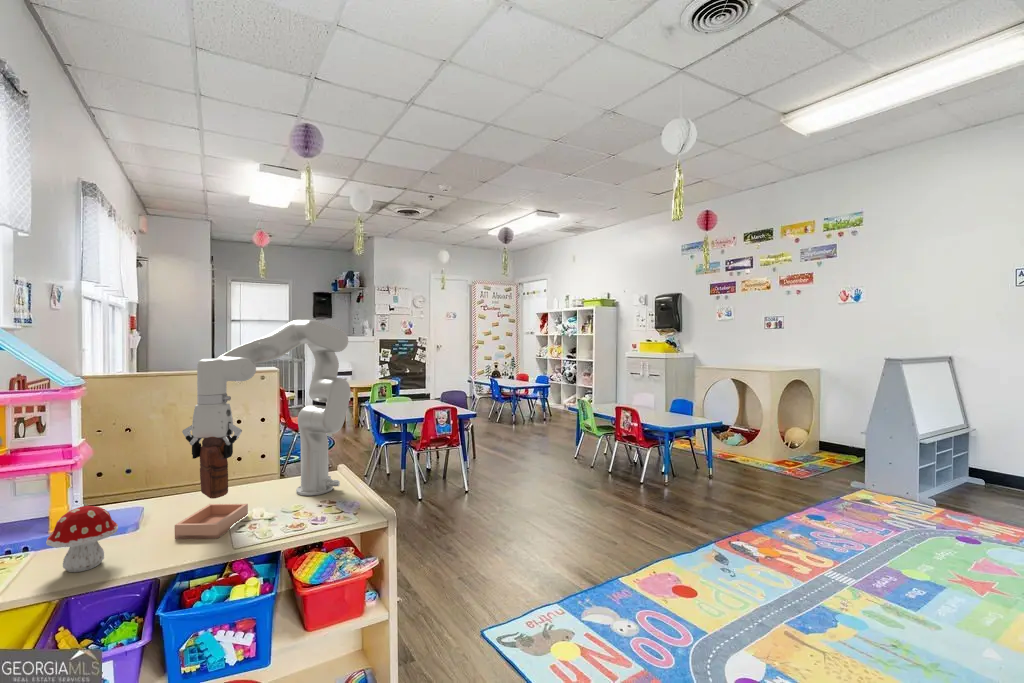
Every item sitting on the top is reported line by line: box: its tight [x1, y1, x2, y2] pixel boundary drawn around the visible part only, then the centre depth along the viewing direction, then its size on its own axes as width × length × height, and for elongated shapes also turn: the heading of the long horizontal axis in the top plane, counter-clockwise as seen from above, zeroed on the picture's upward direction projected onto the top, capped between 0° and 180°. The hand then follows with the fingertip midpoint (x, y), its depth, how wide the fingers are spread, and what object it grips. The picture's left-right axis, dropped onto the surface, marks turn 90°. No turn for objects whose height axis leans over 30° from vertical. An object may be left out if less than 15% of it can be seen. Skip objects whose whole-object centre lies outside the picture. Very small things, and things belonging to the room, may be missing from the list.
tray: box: [174, 503, 249, 540], centre depth 148 cm, size 12×17×4 cm
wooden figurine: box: [199, 437, 229, 499], centre depth 148 cm, size 12×6×18 cm, turn 48°
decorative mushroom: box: [45, 505, 119, 573], centre depth 123 cm, size 14×14×15 cm
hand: (212, 457), depth 148 cm, fingers closed on wooden figurine, 8 cm apart
